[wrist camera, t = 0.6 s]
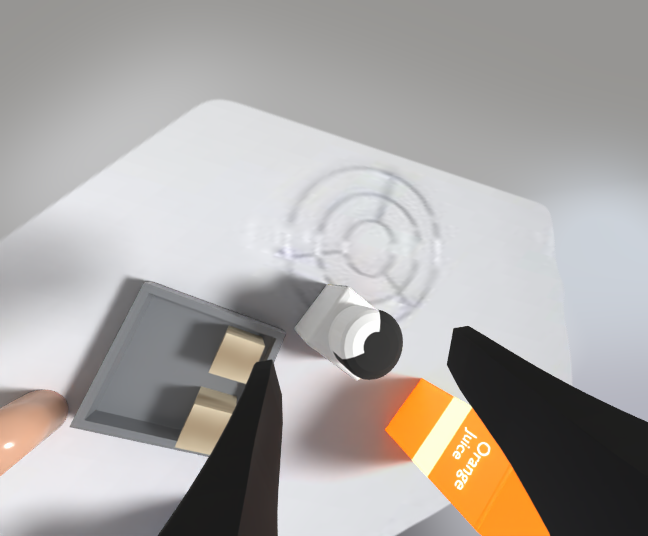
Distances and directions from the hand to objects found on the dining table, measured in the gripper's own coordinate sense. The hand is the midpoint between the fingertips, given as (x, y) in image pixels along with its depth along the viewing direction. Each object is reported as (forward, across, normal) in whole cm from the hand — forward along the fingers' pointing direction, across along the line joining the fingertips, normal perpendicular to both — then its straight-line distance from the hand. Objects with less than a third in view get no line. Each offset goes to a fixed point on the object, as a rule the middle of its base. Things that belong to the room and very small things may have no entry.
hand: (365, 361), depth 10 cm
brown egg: (+12, +29, +13) cm, 33 cm away
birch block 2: (+16, +11, +13) cm, 23 cm away
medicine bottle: (+19, 0, +14) cm, 23 cm away
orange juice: (+14, -11, +29) cm, 34 cm away
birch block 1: (+12, +14, +18) cm, 26 cm away
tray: (+15, +15, +13) cm, 25 cm away
